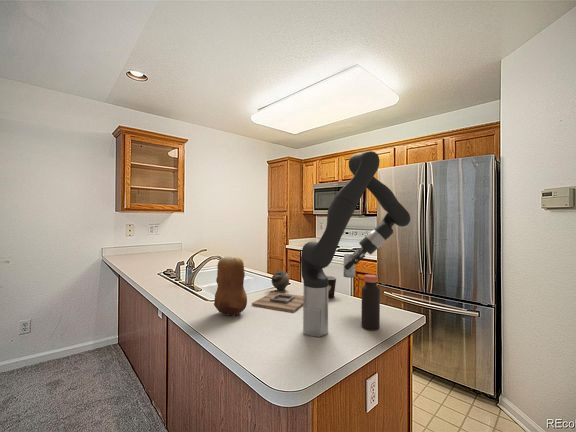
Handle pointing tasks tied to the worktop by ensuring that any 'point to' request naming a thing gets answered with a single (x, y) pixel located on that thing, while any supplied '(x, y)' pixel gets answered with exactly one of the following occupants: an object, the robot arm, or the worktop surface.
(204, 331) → the worktop surface
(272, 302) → the pocket base
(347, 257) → the steel hub
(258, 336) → the worktop surface
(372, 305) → the bottle
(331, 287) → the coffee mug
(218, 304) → the butternut squash
